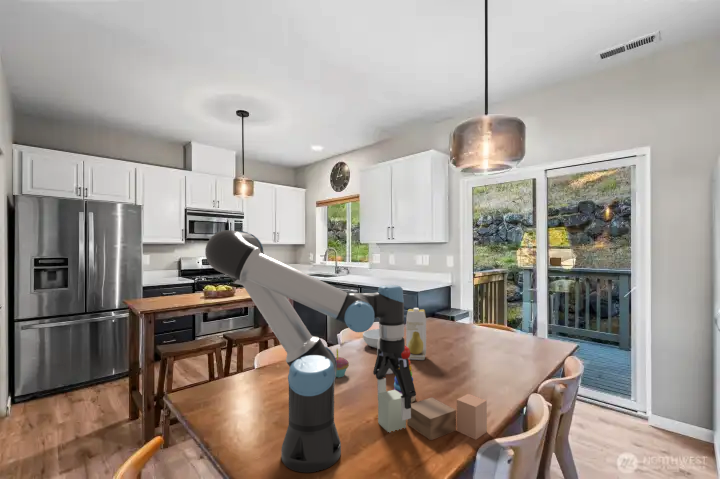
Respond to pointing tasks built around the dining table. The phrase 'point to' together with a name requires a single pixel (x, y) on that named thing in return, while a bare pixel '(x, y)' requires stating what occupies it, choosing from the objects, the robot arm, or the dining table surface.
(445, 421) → the walnut block
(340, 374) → the cupcake
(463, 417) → the terracotta block
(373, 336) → the serving bowl
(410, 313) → the juice carton
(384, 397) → the sage block
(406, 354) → the stacking toy
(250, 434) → the dining table surface
